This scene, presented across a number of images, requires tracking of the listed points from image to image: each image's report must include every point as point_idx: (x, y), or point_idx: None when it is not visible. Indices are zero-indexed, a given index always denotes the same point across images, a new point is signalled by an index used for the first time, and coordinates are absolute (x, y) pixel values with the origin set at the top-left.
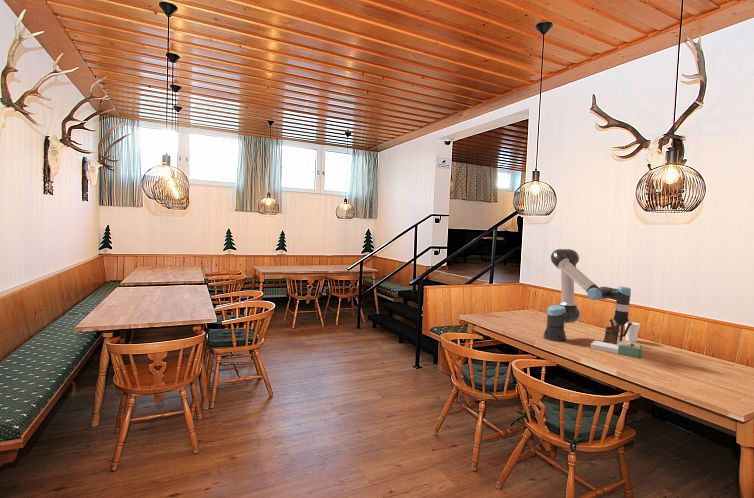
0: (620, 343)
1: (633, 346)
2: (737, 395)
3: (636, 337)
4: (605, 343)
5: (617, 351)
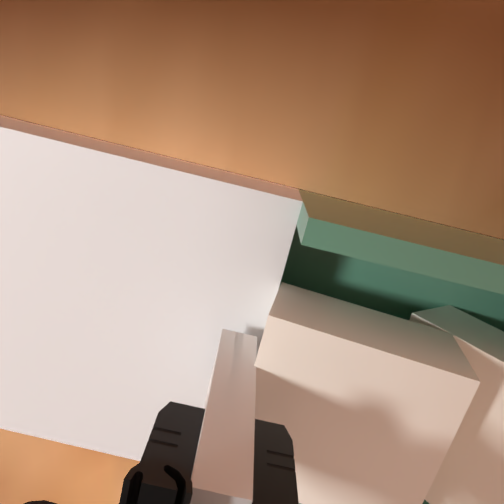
0: None
1: (477, 482)
2: None
3: None
4: (34, 210)
5: None
